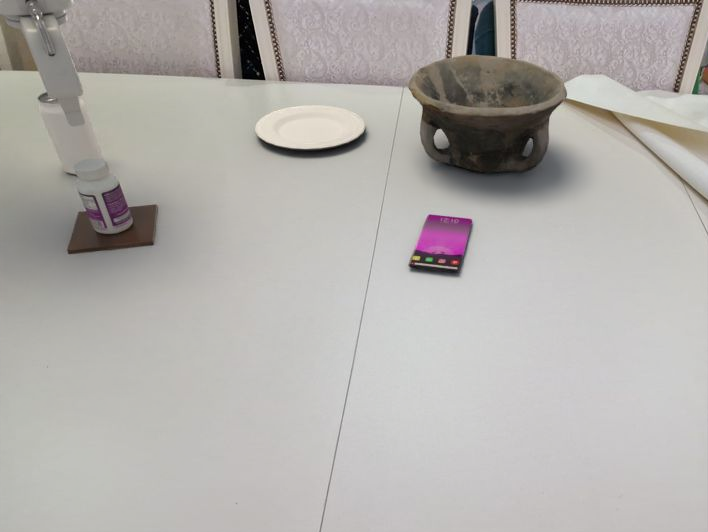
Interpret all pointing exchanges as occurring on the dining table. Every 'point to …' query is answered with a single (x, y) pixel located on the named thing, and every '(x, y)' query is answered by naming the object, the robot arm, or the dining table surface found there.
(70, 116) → the robot arm
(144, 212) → the coaster
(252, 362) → the dining table surface
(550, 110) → the bowl
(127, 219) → the pill bottle
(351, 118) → the plate
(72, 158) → the can
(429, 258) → the smartphone
